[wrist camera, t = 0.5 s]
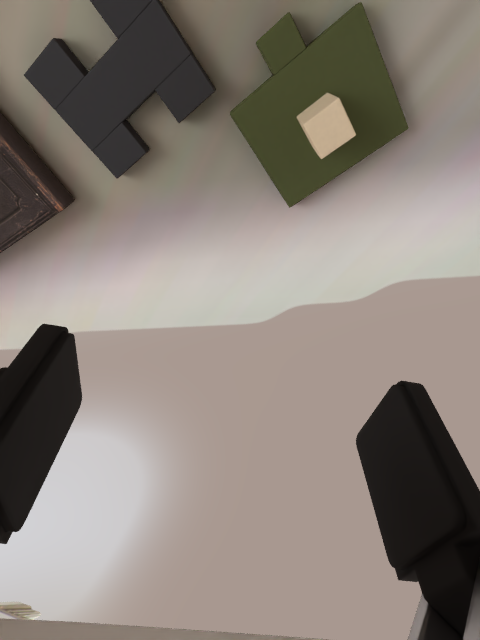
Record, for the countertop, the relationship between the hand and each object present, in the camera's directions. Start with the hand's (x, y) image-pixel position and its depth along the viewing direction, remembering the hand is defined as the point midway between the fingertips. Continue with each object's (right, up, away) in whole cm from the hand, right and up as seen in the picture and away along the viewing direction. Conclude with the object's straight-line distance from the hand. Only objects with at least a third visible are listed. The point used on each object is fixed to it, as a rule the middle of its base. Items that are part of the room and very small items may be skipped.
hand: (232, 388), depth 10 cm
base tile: (-10, +22, +19) cm, 31 cm away
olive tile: (+6, +21, +20) cm, 29 cm away
